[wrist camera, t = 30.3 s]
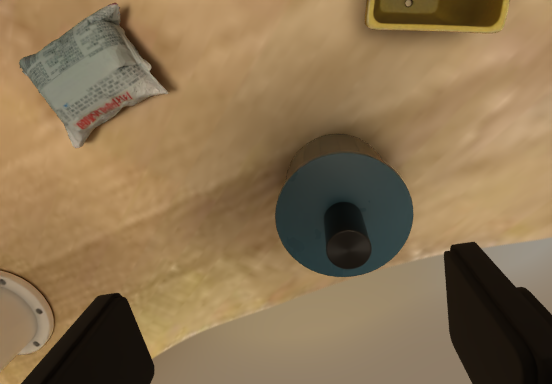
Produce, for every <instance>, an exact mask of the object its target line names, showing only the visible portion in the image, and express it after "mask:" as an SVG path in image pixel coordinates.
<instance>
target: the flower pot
mask: <svg viewBox="0 0 552 384" xmlns="http://www.w3.org/2000/svg"><path fill="white" fill-rule="evenodd" d="M411 1H412V5H411V6H409V7H407V6H406V5H405V2H406V0H367V5H366V13H365V24H366V26H367V27H369V28H371V29H374V30H414V31H447V32H470V33H497V32H499V31H501V30H502V29H503V27H504V24H505V21H506V16H507V12H508V7H509V2H510V0H411Z"/></svg>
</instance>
